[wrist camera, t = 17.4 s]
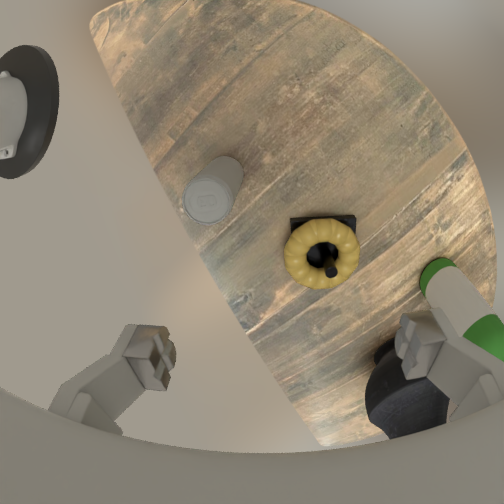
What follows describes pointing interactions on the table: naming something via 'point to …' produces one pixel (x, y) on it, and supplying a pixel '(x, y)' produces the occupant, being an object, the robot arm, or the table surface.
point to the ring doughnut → (312, 235)
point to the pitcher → (402, 397)
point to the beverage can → (213, 191)
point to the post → (324, 245)
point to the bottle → (463, 306)
